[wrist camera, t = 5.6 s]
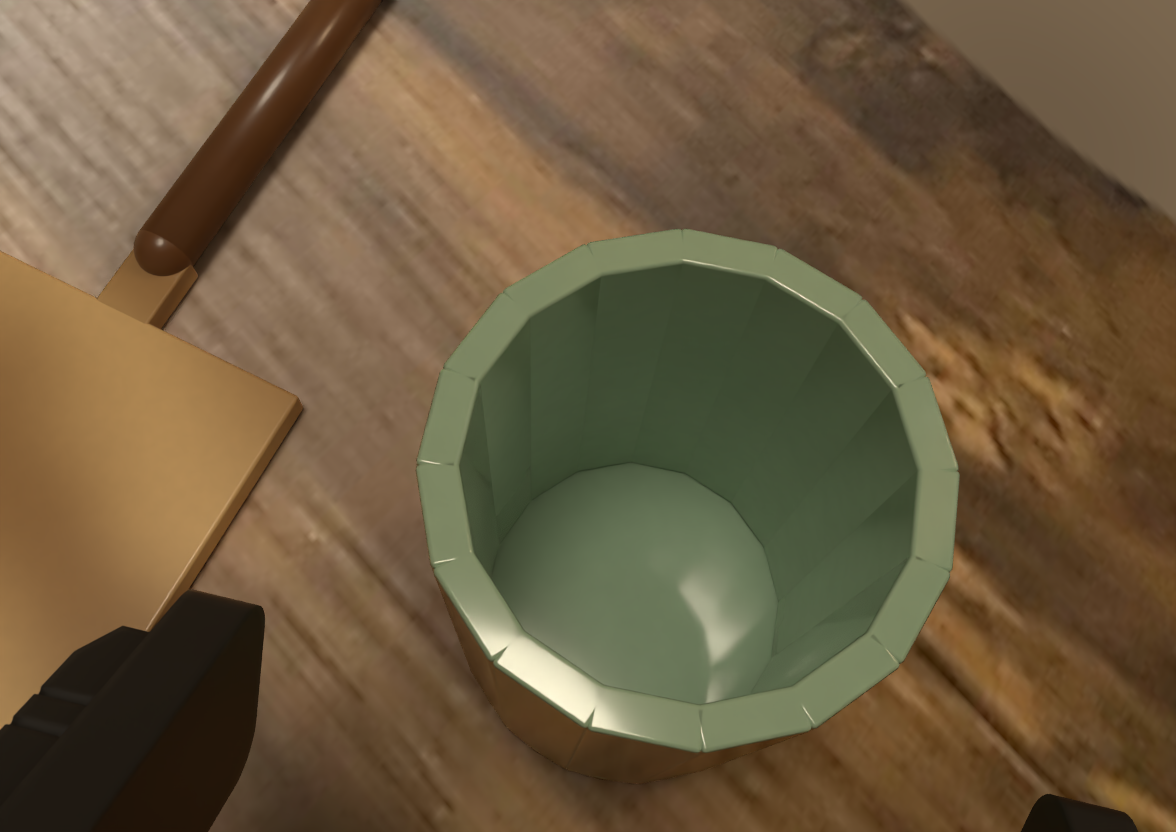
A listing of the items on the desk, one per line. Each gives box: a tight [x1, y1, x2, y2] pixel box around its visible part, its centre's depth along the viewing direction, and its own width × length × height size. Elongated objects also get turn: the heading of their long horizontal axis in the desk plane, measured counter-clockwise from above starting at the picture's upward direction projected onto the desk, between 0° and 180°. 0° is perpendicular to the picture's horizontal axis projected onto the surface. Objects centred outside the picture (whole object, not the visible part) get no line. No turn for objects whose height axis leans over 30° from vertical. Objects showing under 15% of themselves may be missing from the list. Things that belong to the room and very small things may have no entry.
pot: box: [416, 229, 960, 784], centre depth 17 cm, size 6×6×8 cm
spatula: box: [0, 0, 382, 730], centre depth 22 cm, size 22×8×1 cm, turn 154°
